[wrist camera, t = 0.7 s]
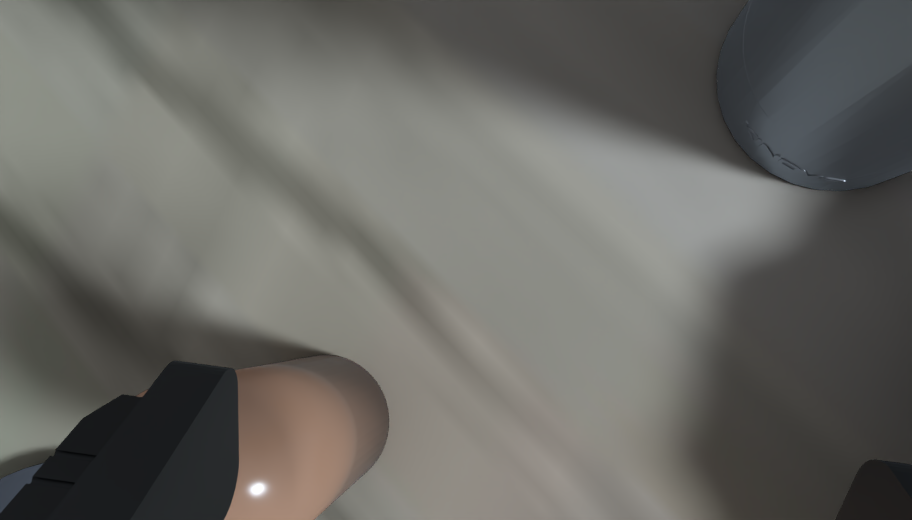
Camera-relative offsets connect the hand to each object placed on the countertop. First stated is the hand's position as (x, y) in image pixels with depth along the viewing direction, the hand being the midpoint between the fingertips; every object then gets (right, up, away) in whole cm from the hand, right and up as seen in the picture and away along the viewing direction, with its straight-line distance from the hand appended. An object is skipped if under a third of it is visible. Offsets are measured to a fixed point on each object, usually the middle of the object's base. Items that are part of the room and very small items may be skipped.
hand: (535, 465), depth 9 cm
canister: (-7, -4, +21) cm, 23 cm away
